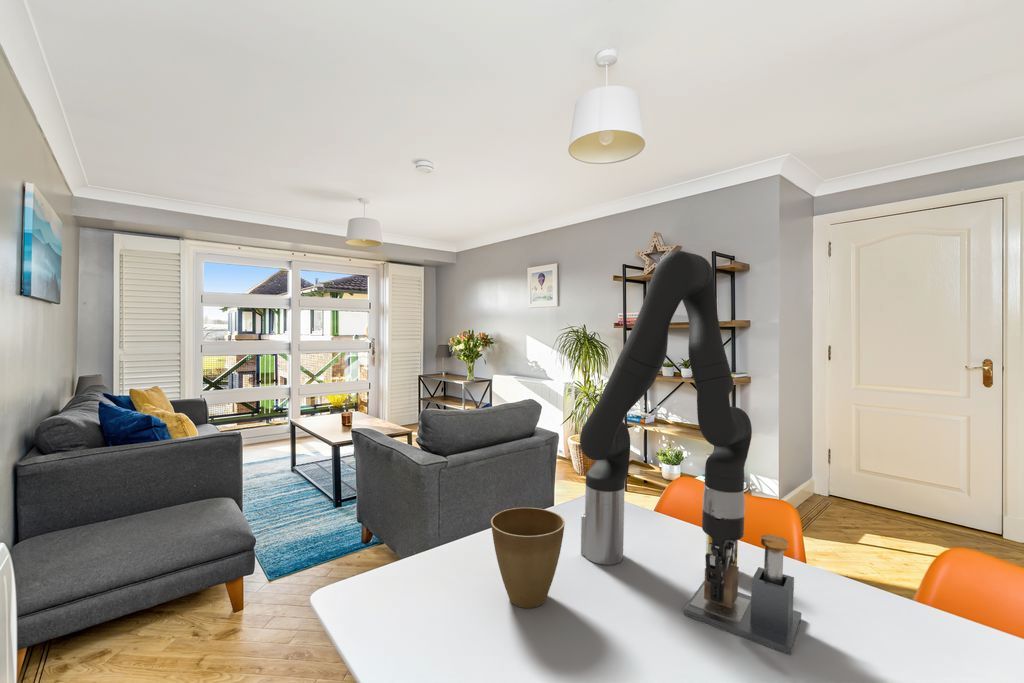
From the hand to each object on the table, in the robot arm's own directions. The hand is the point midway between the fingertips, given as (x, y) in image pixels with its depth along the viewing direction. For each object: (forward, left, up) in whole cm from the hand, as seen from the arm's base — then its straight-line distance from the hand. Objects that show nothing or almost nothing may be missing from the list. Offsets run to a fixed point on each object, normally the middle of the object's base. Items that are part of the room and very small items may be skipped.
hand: (720, 594), depth 95 cm
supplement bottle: (-4, +16, -3) cm, 17 cm away
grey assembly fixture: (+4, 0, -3) cm, 5 cm away
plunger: (+9, 0, +3) cm, 9 cm away
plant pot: (-32, -21, -3) cm, 38 cm away
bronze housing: (0, 0, -1) cm, 1 cm away
